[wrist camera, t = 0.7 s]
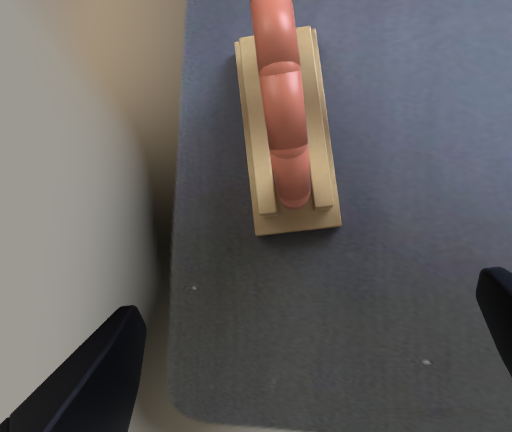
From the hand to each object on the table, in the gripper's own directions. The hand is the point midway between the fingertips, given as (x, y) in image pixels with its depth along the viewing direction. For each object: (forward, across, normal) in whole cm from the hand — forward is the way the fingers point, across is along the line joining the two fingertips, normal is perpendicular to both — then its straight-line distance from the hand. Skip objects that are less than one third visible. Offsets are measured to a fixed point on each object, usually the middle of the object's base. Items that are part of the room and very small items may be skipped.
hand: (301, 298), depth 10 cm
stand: (+15, 0, +1) cm, 15 cm away
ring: (+14, 0, +1) cm, 14 cm away
